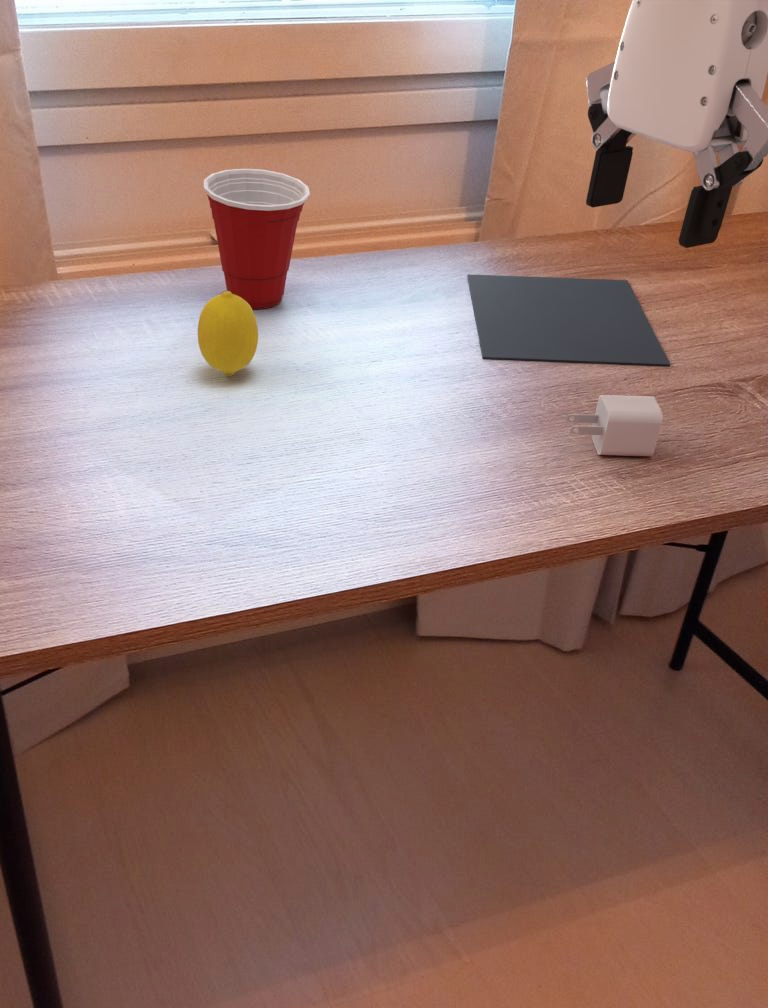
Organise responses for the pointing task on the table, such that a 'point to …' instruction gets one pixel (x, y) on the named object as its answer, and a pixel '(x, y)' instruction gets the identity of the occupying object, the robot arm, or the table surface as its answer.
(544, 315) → the mat
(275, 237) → the plastic cup
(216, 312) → the lemon
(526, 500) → the table surface
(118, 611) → the table surface
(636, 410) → the usb wall charger
